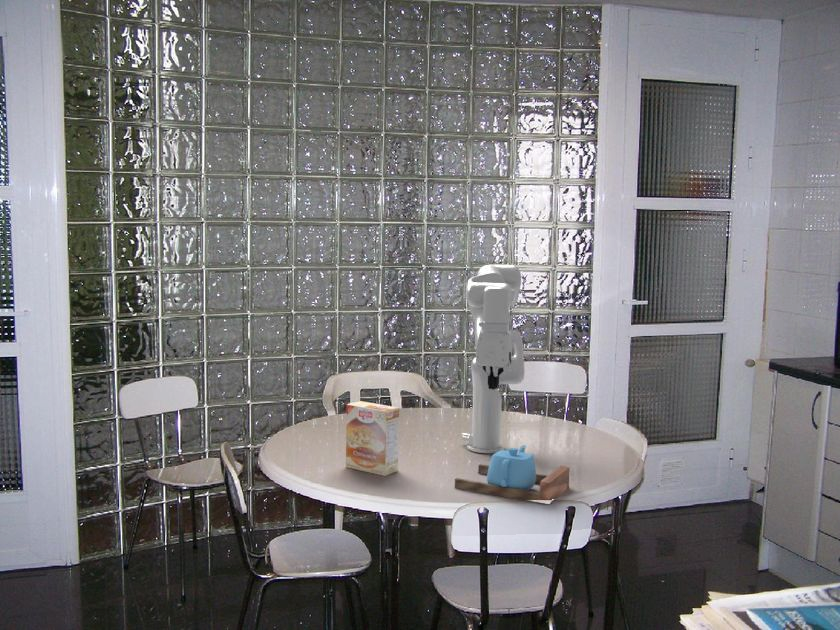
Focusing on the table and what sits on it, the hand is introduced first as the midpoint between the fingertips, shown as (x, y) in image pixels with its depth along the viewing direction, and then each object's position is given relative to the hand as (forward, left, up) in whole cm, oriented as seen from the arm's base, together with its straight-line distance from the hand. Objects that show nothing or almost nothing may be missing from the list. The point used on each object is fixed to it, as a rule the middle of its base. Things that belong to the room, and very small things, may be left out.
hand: (493, 388), depth 236 cm
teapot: (+12, -12, -25) cm, 31 cm away
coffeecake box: (-31, -18, -26) cm, 44 cm away
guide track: (+12, -12, -25) cm, 30 cm away
